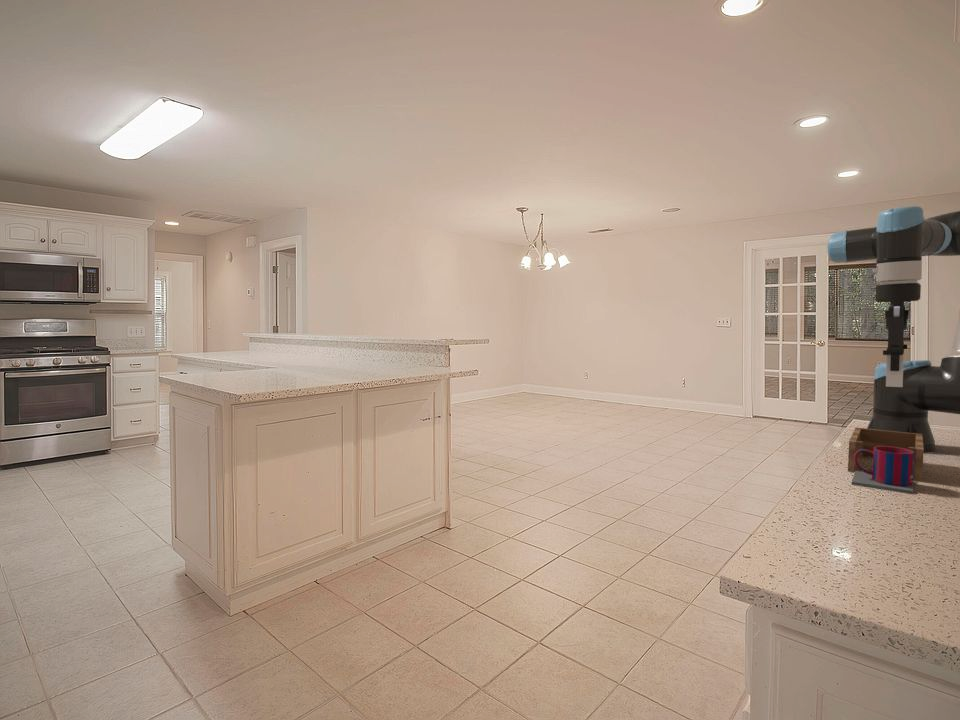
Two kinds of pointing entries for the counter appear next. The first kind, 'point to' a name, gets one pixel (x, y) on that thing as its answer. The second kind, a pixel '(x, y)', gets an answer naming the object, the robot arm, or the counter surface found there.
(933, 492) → the counter surface
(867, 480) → the slate mat
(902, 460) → the mug
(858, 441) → the walnut box
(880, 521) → the counter surface
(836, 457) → the counter surface
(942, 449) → the counter surface
